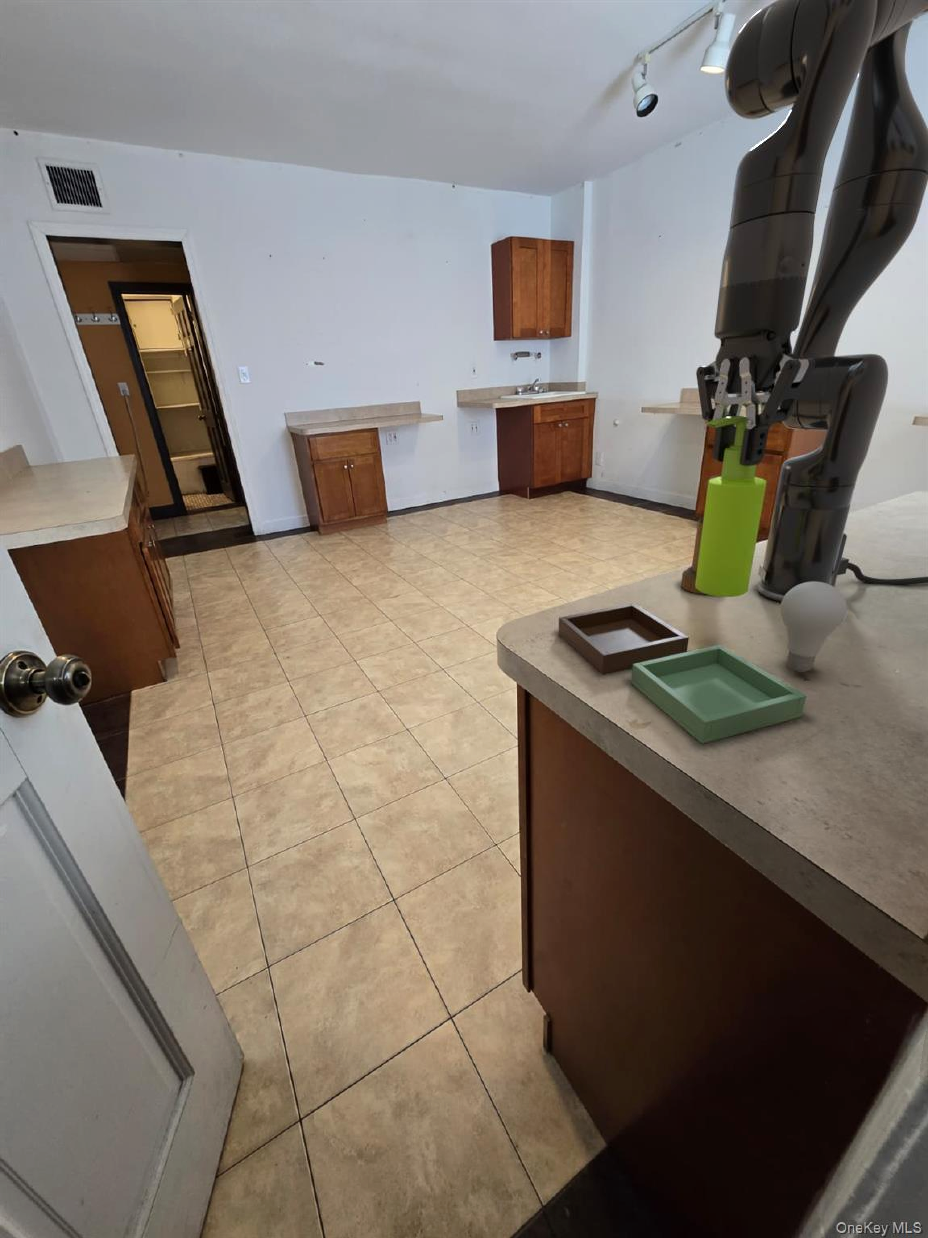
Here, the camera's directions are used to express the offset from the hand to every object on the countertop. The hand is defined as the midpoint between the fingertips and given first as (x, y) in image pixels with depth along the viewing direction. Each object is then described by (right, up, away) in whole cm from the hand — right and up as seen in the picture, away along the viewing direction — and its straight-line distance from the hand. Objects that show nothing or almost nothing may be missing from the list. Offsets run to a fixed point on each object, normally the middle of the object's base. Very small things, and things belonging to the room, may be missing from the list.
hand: (735, 461), depth 57 cm
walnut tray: (-10, -21, +12) cm, 26 cm away
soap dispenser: (+1, -14, +7) cm, 15 cm away
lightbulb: (+9, -24, +3) cm, 26 cm away
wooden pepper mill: (+9, -12, +28) cm, 32 cm away
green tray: (-3, -26, -1) cm, 27 cm away
